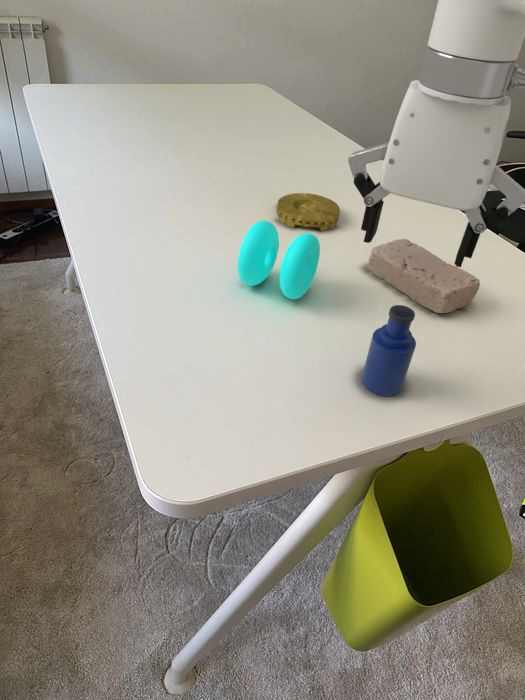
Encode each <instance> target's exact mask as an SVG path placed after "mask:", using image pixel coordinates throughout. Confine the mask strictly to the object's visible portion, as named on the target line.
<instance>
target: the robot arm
mask: <svg viewBox="0 0 525 700" xmlns="http://www.w3.org/2000/svg"><path fill="white" fill-rule="evenodd" d="M524 39H525V0H437V4H436V8H435V12H434V17H433V19H432V25H431V29H430V32H429V37H428V42H427V45H426V48H425V52H424V57H423V61H422V64H421V69H420V73H419V76H418V79H416V80H415V79H414V80H412V81H411V82H410V84H409V86H408V88H407V91H406V93H405V95H404V98H403V100H402V103H401V104H400V108H399V110H398V113H397V117H396V119H395V123H394V125H393V128H392V132H391V135H390V138H389V141H388V142H385V143H381V144H378V145H374V146H371V147H367V148H363V149H360V150H356V151H353V152H352V153H351V154H350V156H348V164H349V168H350V172H351V175H352V177H353V184H354V186H355V188H356V189H357V191H358V192H359V194H360V195H361V197H362V198H363V204H364V205H365V209H364V212H363V213H364V214H363V218H362V223H361V227H360V230H361V231H363V232H365V234H364V238H363V243H366V244H369V243H371V242H372V241H373V240H374V238H375V236H376V234H377V232H378V229H379V228H378V227H379V223H380V221H381V220H380V219H381V214H382V211H383V206H384V202H385V201H384V200H383V199H384V198H386V197H388V196H389V195H390V194H392V195H395V196H399V197H401V198H406V199H410V200H414V201H419V202H423V203H426V204H431V205H434V206H439V207H443V208H448V209H452V210H455V211H463V212H464V214H465V217H466V218H467V220H468V221H467V224H466V227H465V229H464V232H463V235H462V238H461V241H460V244H459V247H458V249H457V253H456V256H455V260H454V263H453V265H454V266H456V267H458V268H462V265H463V262H464V260H465V258H468V259H472V257H473V255H474V252H475V250H476V246H477V244H478V241H479V238H480V236H481V234H483V233H485V231H486V230H488V229H489V228H491V227H494V226H496V225H498V224H500V223H501V222H504V221H506V220H507V219H508V218H509V216H510V215H511V214H514V212H515V211H516V210H518V209H519V208H520V207H521V206H522V205H524V203H525V188H524V187H523V186H522V185H520V184H519V182H517V181H515V180H514V178H512V177H511V176H510V175H509V174H507V172H505V171H504V170H503V169H502V168H501V167H500V166H499V165H497V163H498V159H499V156H500V153H501V150H502V146H503V143H504V139H505V135H506V132H507V127H508V124H509V118H510V111H511V108H512V107H511V106H512V99H511V98H510V97H509V96H508V95H506V92H507V91H508V92H510V91H511V89H514V90H516V88H520V89H524V90H525V70H524V69H523V68H522V67H519V66H520V65H519V64H518V63H517V59H518V57H519V54H520V51H521V48H522V45H523V43H524ZM382 160H383V163H382V167H381V171H380V176H379V177H380V178H379V182H377V183H376V184H375V182H374V180H373V179H372V178H371V176H370V174H369V173H368V172H367V166H366V165H368V164H371V163H375V162H379V161H382ZM490 185H492V186H493V187H495V189H497V190H498V191H499V192H500V193H501V194H502V195H504V196H505V198H504V199H503V200H502V201H501V203H498V204H497V205H495V206H493V207H491V208H489V209H486V208H485V206H484V203H483V201H484V199H485V197H486V194H487V192H488V190H489V187H490Z"/></svg>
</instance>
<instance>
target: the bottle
mask: <svg viewBox="0 0 525 700" xmlns="http://www.w3.org/2000/svg"><path fill="white" fill-rule="evenodd" d="M415 317H416V313H415V311H414V310H413V309H412V308H411V307H409V306H406V305H402V304H395V305H392V306H391V307H390V308H389V311H388V320H387V323H385V324H383V325H382V326H381V327H378V328H377V329H375V330H374V331H373V333H372V336H371V340H370V344H369V347H368V351H367V355H366V358H365V363H364V367H363V371H362V373H361V383H362V386H363V387H364V388H365V389H366V390H367V391H369V392H370V393H372V394H373V395H376V396H380V397H393V396H396V395H398V394H399V393H400V392H401V391H402V390H403V386H404V383H405V381H406V377H407V374H408V371H409V368H410V365H411V362H412V359H413V356H414V353H415V349H416V346H417V341H416V339H415V337H414V336H413V333H412V331H411V330H410V328H411V325H412V322H413V321H415Z"/></svg>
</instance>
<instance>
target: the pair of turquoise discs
mask: <svg viewBox="0 0 525 700" xmlns="http://www.w3.org/2000/svg"><path fill="white" fill-rule="evenodd" d="M279 248H280V237H279V233H278V230H277V228H276V226H275V224H273V223H272V222H271V221H269V220H259V221H256V222H255V223H254V224H252V225H251V226H250V228H248V230H247V231H246V233H245V236H244V237H243V240H242V242H241V244H240V248H239V252H238V257H237V272H238V276H239V278H240V281H241V282H242V283H244V285H246V286H251V287H254V286H258V285H260V284H262V283H263V282H264V281H266V279H268V277H269V276H270V274H271V272H273V271H272V270H273V269H274V266H275V264H276V262H277V258H278V253H279ZM320 254H321V245H320V241H319V239H318V237H317V236H316V235H315V234H313V233H311V232H304V233H301V234H299V235H297V236H296V237H295V238H294V239H293V240H292V241H291V242H290V244H289V245H288V247H287V249H286V251H285V253H284V256H283V258H282V262H281V265H280V270H279V286H280V287H279V288H280V290H281V292H282V294H283V295H284V296H285V297H286V298H287V299H290V300H298V299H300V298H302V297H303V296H304V295H305V294H306V293H307V292H308V291H309V288H310V286H311V285H312V283H313V281H314V278H315V276H316V273H317V269H318V266H319V261H320V256H321V255H320Z"/></svg>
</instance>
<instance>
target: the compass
mask: <svg viewBox="0 0 525 700" xmlns="http://www.w3.org/2000/svg"><path fill="white" fill-rule="evenodd" d="M276 213H277V215H278V216H279V222H281V223H282V224H283V225H285V226H287V227H289V228H295V227H296V226H300V227H304V228H305V227H306V228H317V229H319V230H320V232H322V231H327V230H331V229H332V228H334V227H335V226H336V222H338V221H339V217H340V213H341V208H340V206H339V204H338V203H336V202H335V201H334V200H332V199H330V198H328V197H326V196H323V195H319V194H316V193H315V194H314V193H308V192H295V193H288V194H285V195H283V196H282V197H279V199H278V200H277V203H276Z"/></svg>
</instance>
